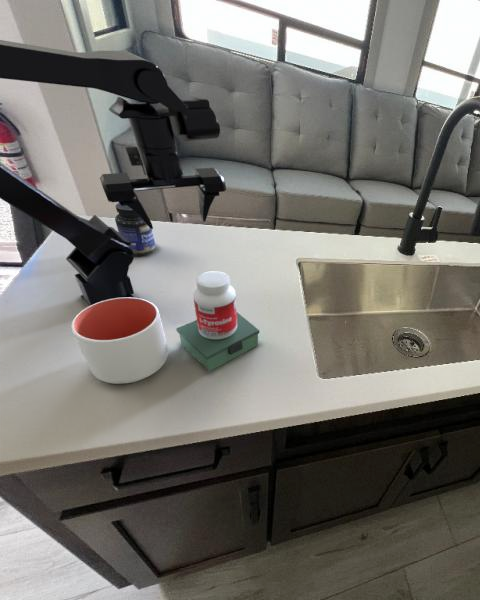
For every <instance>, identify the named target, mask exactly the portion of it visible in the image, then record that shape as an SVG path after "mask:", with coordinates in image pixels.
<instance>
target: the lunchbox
mask: <svg viewBox="0 0 480 600" xmlns="http://www.w3.org/2000/svg"><path fill="white" fill-rule="evenodd" d="M175 329H176V332H177V333H178V334H179V339H180V344H181V346H182V347H183V348H184V349H185V350H186V351H187V352H188V353H189V354H190V355H191V356H192V357H194V359H196V360H197V361H198V362H199V363H200V365H202V366H203V367H204V368H205V369H206V370H207V371H208V372H211V371H213V370H215V369H217V368H219V367H220V366H222V365H224V364H226V363H228V362H229V361H231V360H233V359H235V358H237V357H239V356H241V355H243V354H244V353H246V352H247V351H250V350H252V349H254V348H256V347H257V346H259V334H260V329H259V328H257V327H256V326H255V325H254V324H252V322H250V321H249V320H248V319H247V318H245V317H244V316H243V315H242V314H240V313H239V312H238V311H237V329H236V331H235V332H234V333H233V334H232V335H231V336H229V337H227V338H224V339H208V338H205V337H203V336H202V335H201V334H200V332H199V330H198V324H197V319H195V320H193V321H191V322H188V323H186V324H183V325H181V326H179V327H176V328H175Z"/></svg>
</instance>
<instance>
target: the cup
mask: <svg viewBox="0 0 480 600" xmlns="http://www.w3.org/2000/svg"><path fill="white" fill-rule="evenodd" d="M70 326H71V327H70V328H71V331H72V333H73V337H74V338H75V340H76V342H77V344H78V347H79V348H80V351H81V353H82V355H83V357H84V359H85V361H86V363H87V365H88V368H89V370H90V372H91V374H92V375H93V376H94V377H95V378H96V379H98V380H100V381H102V382H105V383H107V384H116V385H119V384H120V385H121V384H122V385H123V384H130V383H135V382H139V381H142V380H144V379H147V378H148V377H150V376H152V375H154V374H155V373H157V372H158V371H159V370H160V369H161V368H162V367H163V366H164V364H166V361H167V360H168V356H169V347H168V342H167V339H166V335H165V330H164V327H163V323H162V319H161V315H160V311H159V308H158V307H157V305H156V304H154V303H153V302H151V301H149V300H147V299H143V298H140V297H135V298H131V297H124V298H114V299H109V300H105V301H101V302H98V303H96V304H93V305H91V306H87V307H85V308H84V309H82V310H81V311H80V312H78V313H77V314H76V316H74V318H73V320H72V322H71V325H70Z"/></svg>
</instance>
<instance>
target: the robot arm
mask: <svg viewBox="0 0 480 600" xmlns="http://www.w3.org/2000/svg"><path fill="white" fill-rule="evenodd" d="M0 79H3V80H13V81H21V82H32V83H41V84H51V85H58V86H70V87H77V88H87V89H95V90H98V91H102V92H106V93H110V94H113V95H116V96H117V98H116V101H115V102H114V103H112V104H111V105H110V107H109V108H108V110H109V112H110V113H112V114H114V115H115V116H117V117H118V118H120V119H123V120H125V119H126V120H127V119H128V121H129V125H130V128H131V132H132V134H133V135H132V136H133V138H134V141H135V145H136V146H126V147H125V146H124V150H125V153H126V156H127V158H128V161H129V165H130V166H131V167H136V166H139V167H140V166H141V168H142V173H143V175H144V176H146V178H136V179H135V178H133V179H130V178H129V176H128V173H127V172H116V173H115V172H113V173H102V174H101V175H100V177H99V181H100V184H101V186H102V189H103V192H104V194H105V196H106V198H107V201H108V202H110V203H119V204H120V205H122V206H129V207H130V208H131V209H132V210H133V211H134V212H136V213H137V214H138V215H139V216H140V217H141V218H142V219H143V221H144V222H145V223H146V224H147V225H148V226H149V228H150V229H152V230H154V226H153V223H152V221H151V219H150V217H149V215H148V213H147V211H146V210H145V208H144V206H143V204H142V202H141V199H140V198H139V196H138V194H137V192H139V191H141V192H143V191H153V190H154V191H155V190H164V189H175V188H176V189H177V188H186V187H196V190H197V194H198V195H197V196H198V205H199V213H200V218H201V221H202V222H206V221H207V218H208V215H209V211H210V208H211V206H212V204H213V202H214V199H215V198H216V197H219V196H221V194H220V193H222V192H223V193H224V192H226V191H227V186H226V180H225V178H224V177H223V175H222V174H221V173H220V172H219V171H218V170H217V169H216V168H215V167H202V168H201V167H200V168H195V169H194V174H192V175H191V174H190V175H184V172H183V167H182V163H181V160H180V156H179V150H178V147H177V142H176V138H175V136H176V137H180V138H181V139H182V140H183V141H184V142H193V141H194V142H195V141H203V140H205V141H206V140H213V139H217V138H219V137H220V134H221V125H220V122H219V121H218V118H217V115H216V114H215V112H214V110H213V109H212V108H211V106H210V100H209V99H207V98H205V97H204V96H193V97H186V98H184V97H182V98H180V97H179V96H178V94H177V93H175V91H174V90H173V89H172V88H171V87H170V86H169V85H168V81H167V77H166V76H165V74H164V73H163V71H162V70H161V68H159V67H158V65H156V64H155V63H153V62H152V61H149V60H148V59H145V58H143V57H141V56H139V55H136V54H135V53H132V52H129V51H126V50H95V51H87V52H77V51H68V50H63V49H58V48H57V49H56V48H52V47H45V46H39V45H33V44H27V43H21V42H16V41H11V40H3V39H0ZM124 98H126V99H130V100H134V101H137V102H128V101H127V100H126V99H124ZM157 104H160V105H161V106H163V107H154V106H153V105H157ZM0 200H2V201H4V202H6V203H7V204H8V205H10V206H12V207H14V208H15V209H17V210H18V211H20V212H21V213H23V214H25V215H26V216H28V217H29V218H31V219H33V220H35V221H36V222H37V223H40V224H42V226H45V227H46V228H47V229H50V231H53V232H54V233H56V234H58V235H60V236H61V237H62V238H64V239H66V240H67V242H69V243H70V244H71V245H72V246H73V247H74V248H73V250H72V251H71V252H70V253H69V254H68V256H67V257H66V258H65V259H66V261H67V262H68V263H69V264H70V265H71V266H72V267H73V268H74V269H75V271H77V273H75V274H74V277H75V279H76V282H77V284H78V287H79V289H80V292H81V294H82V295H80V298H81V300H82V301H83V302H84V303H85V304H86V306H87V307H89V306H91V305H93V304H96V303H98V302H101V301H105V300H109V299H114V298H124V297H131V298H136V297H135V296H134V294H135V291H134V287H133V284H132V280H131V278H130V276H129V275H128V273H129V268H130V265H131V264H132V263H133V262H134V258H135V255H134V252H133V250H132V249H131V248H130V247H129V246H128V245H131V243H130V242H129V241H128V240H127V239H126V238H124V237H123V236H122V235H121V234H120V233H119V232H118V230H116V228H114V227H112V226H109V225H108V224H106V223H105V222H104V221H102V219H101V218H99V216H97V215H96V214H95V215H93V216H92V217H91V218H90V219H86V218H84V217H80V216H78V215H77V214H75V213H73V212H72V211H71V210H69V209H68V208H67V207H65V206H63V205H62V204H60V202H58V201H56V200H55V199H54V198H52V197H50V195H47V193H45V192H44V191H43V190H41V189H39V188H38V187H36V186H35V185H33V184H32V183H31V182H29V181H27V180H26V179H25V178H23V177H22V176H21V175H19V174H17V173H16V172H15V171H13V170H12V169H10V168H9V167H8V166H6V165H5V164H3V163H2V162H0Z"/></svg>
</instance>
